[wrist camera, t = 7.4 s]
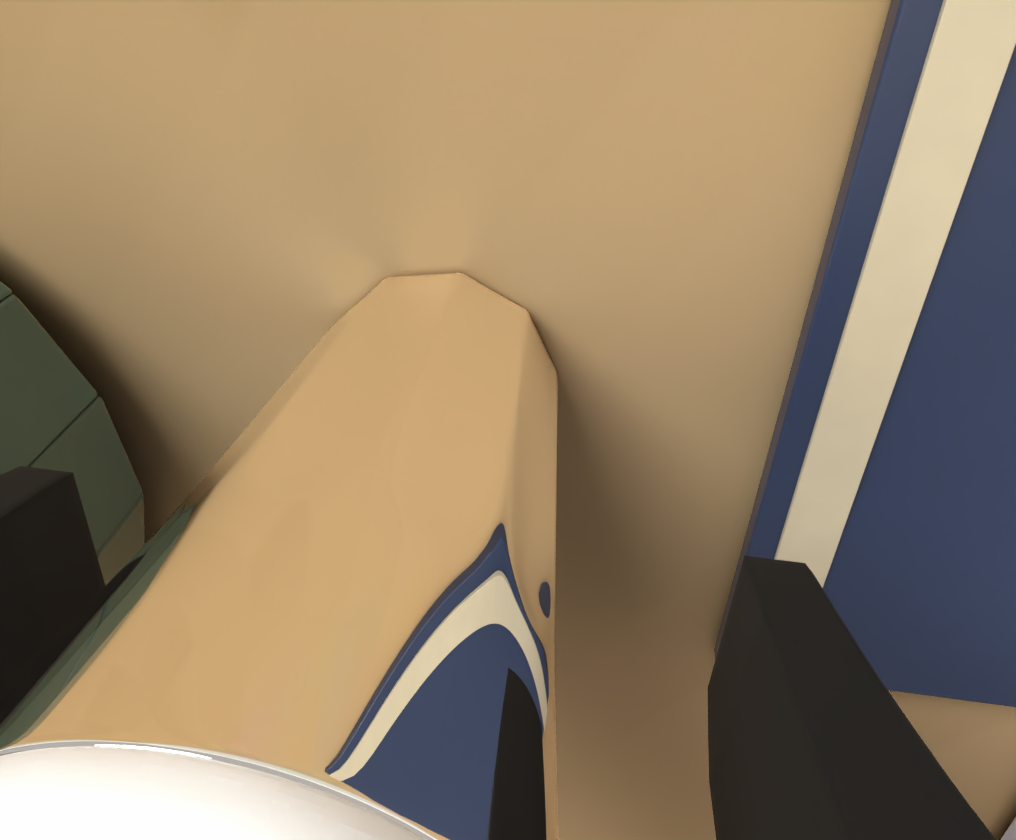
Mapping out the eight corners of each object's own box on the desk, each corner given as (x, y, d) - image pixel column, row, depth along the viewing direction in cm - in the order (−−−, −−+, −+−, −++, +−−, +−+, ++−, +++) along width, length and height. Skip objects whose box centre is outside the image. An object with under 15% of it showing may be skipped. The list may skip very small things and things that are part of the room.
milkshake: (406, 564, 14) (97, 1521, 6) (226, 290, 12) (-688, 1272, 4) (667, 494, 13) (721, 1625, 5) (523, 166, 11) (109, 1327, 2)
